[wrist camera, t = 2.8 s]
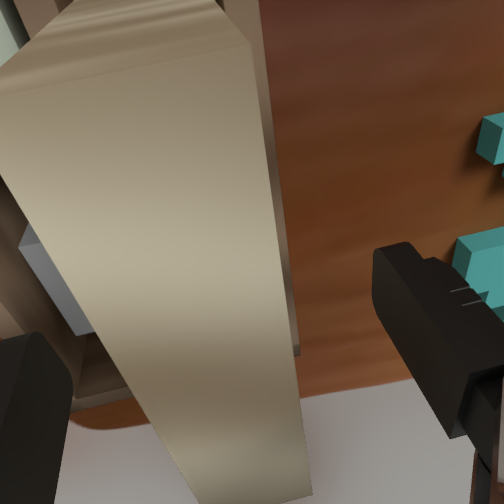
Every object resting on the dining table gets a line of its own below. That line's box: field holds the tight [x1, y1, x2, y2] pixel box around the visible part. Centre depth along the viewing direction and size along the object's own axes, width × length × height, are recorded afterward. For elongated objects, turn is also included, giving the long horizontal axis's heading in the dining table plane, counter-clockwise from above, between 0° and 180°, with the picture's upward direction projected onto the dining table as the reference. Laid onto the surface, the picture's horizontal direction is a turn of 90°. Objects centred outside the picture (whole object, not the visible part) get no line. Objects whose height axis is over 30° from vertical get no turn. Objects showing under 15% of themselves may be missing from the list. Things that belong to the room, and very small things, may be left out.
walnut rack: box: [0, 0, 301, 413], centre depth 17 cm, size 24×13×7 cm, turn 9°
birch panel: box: [0, 0, 313, 504], centre depth 14 cm, size 12×3×15 cm, turn 9°
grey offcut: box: [18, 223, 95, 336], centre depth 21 cm, size 6×4×4 cm, turn 9°
